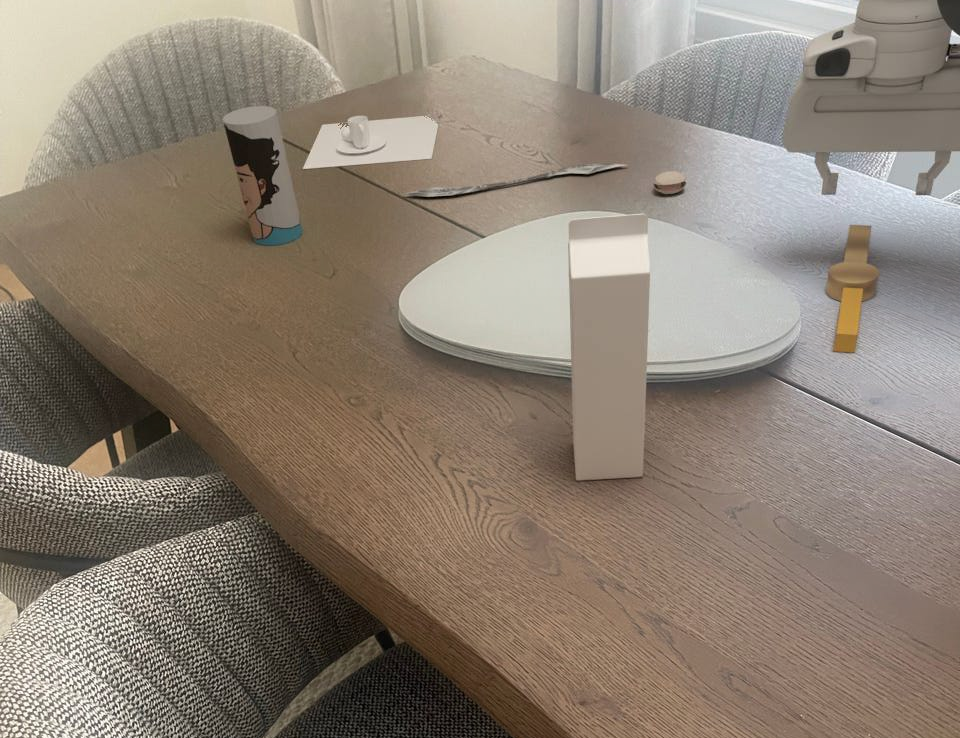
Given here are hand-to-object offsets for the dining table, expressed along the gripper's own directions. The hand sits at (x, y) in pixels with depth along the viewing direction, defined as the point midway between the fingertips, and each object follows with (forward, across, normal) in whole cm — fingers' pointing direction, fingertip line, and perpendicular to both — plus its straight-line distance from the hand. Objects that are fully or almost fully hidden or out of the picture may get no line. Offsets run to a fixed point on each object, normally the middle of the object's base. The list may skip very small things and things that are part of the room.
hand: (875, 193), depth 103 cm
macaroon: (+8, +26, -21) cm, 34 cm away
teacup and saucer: (+6, +76, -37) cm, 84 cm away
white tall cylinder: (+7, +75, -2) cm, 76 cm away
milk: (+8, +20, +41) cm, 46 cm away
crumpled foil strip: (+7, +47, -22) cm, 53 cm away
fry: (+9, +1, +13) cm, 16 cm away
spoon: (+8, +1, 0) cm, 9 cm away
